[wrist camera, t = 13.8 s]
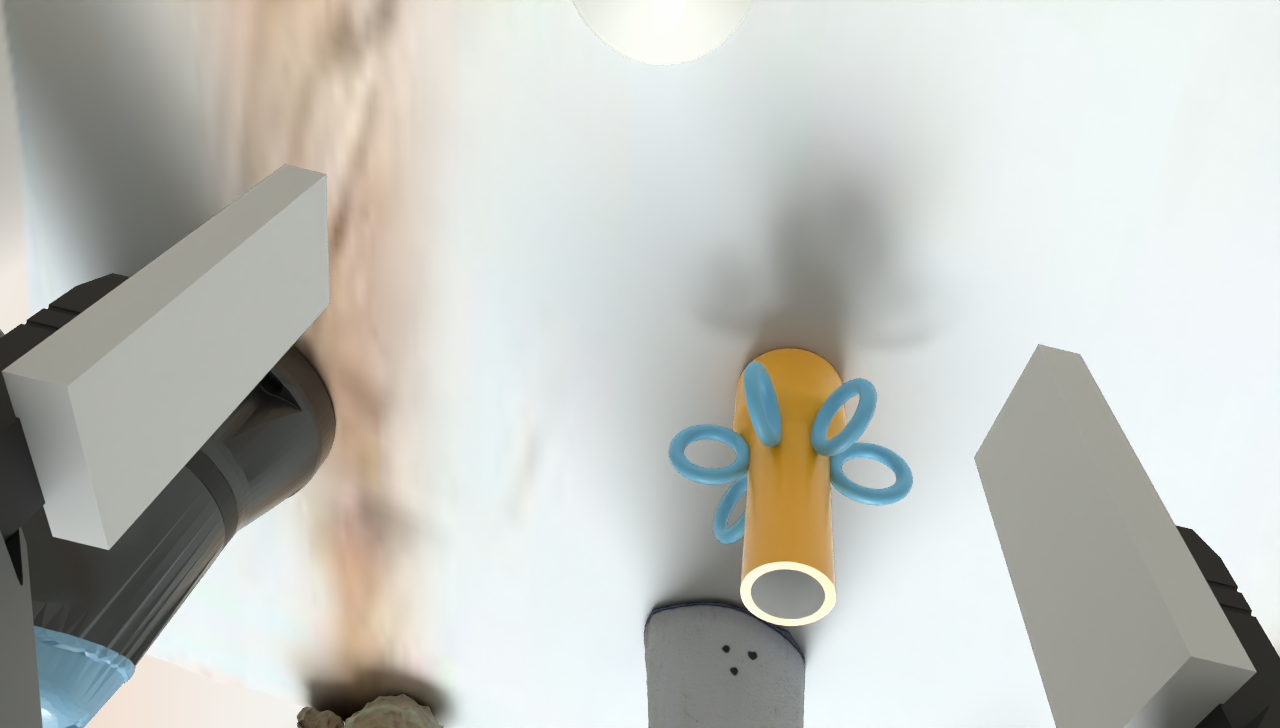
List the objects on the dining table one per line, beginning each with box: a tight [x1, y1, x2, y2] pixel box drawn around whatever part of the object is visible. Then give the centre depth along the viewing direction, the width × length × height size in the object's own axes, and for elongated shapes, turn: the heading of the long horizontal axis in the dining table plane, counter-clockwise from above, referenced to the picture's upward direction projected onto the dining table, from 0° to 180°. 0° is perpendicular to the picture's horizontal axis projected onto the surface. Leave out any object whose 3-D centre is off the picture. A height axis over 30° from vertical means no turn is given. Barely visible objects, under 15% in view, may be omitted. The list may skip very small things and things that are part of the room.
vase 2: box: [669, 348, 913, 626], centre depth 41 cm, size 12×10×15 cm
